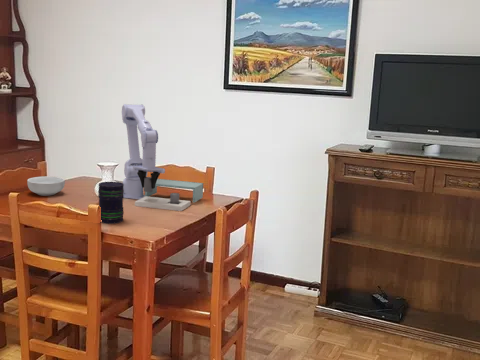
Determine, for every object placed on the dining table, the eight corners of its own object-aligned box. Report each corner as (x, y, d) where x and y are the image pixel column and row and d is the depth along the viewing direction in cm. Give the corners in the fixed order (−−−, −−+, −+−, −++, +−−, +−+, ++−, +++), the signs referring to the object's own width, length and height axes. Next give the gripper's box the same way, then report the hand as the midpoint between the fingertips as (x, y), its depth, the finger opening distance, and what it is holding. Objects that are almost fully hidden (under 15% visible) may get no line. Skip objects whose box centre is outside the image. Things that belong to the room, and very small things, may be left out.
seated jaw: (168, 207, 253) (169, 194, 252) (171, 205, 257) (172, 192, 256) (177, 208, 252) (177, 195, 251) (180, 206, 256) (180, 193, 255)
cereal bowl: (20, 193, 267) (20, 178, 265) (52, 188, 279) (52, 174, 278) (39, 199, 256) (39, 184, 255) (72, 194, 268) (71, 180, 267)
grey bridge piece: (144, 197, 266) (145, 182, 265) (155, 192, 278) (155, 178, 277) (194, 202, 261) (195, 187, 259) (202, 197, 272) (203, 183, 271)
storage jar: (127, 222, 225) (127, 185, 222) (103, 224, 220) (103, 187, 217) (118, 216, 233) (118, 180, 231) (94, 218, 228) (94, 182, 225)
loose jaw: (142, 191, 251) (142, 178, 250) (146, 189, 255) (146, 176, 254) (150, 192, 250) (150, 178, 249) (154, 190, 254) (154, 177, 253)
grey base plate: (134, 205, 253) (134, 201, 252) (145, 200, 264) (145, 196, 264) (181, 211, 248) (181, 206, 247) (190, 205, 259) (190, 201, 259)
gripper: (130, 157, 248) (129, 187, 250) (160, 160, 244) (160, 191, 247) (136, 155, 255) (136, 184, 257) (167, 158, 251) (166, 188, 254)
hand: (148, 187), depth 253 cm, fingers closed on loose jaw, 4 cm apart
